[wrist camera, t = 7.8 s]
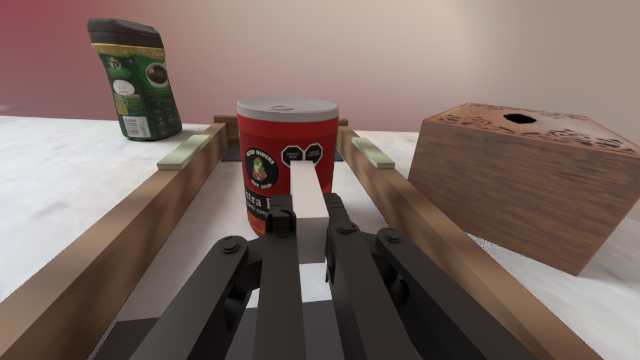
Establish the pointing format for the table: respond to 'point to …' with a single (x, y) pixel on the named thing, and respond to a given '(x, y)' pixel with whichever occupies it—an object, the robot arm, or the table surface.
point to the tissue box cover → (528, 179)
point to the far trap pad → (235, 154)
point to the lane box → (170, 204)
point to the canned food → (283, 147)
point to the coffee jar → (136, 77)
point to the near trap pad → (239, 335)
